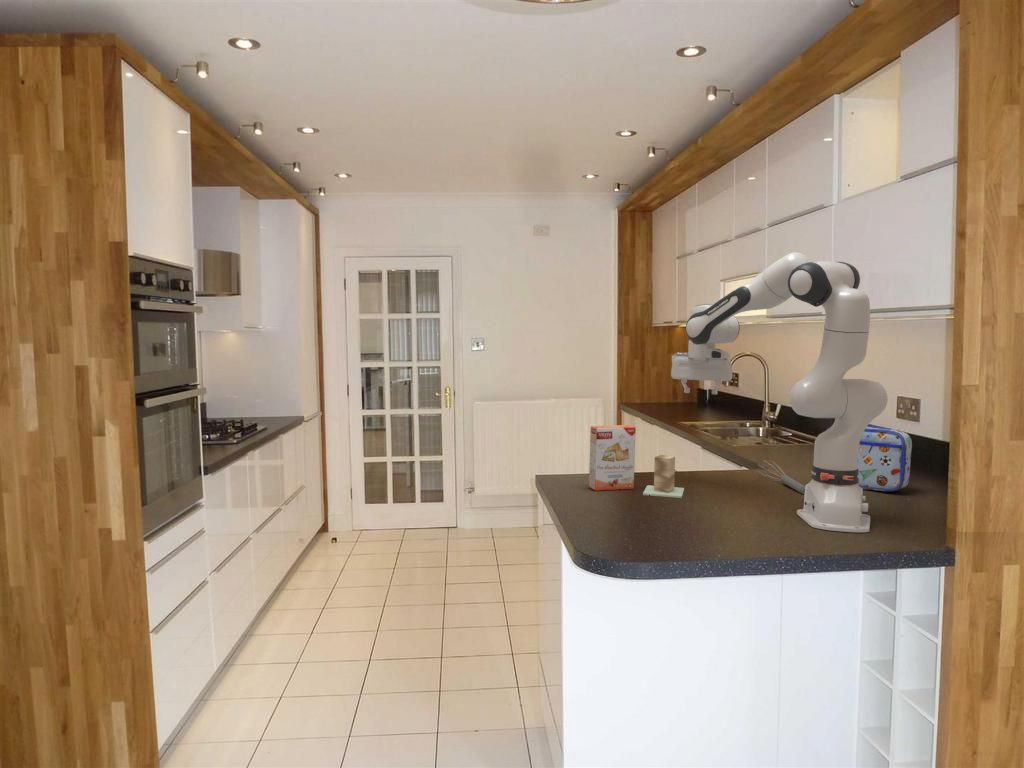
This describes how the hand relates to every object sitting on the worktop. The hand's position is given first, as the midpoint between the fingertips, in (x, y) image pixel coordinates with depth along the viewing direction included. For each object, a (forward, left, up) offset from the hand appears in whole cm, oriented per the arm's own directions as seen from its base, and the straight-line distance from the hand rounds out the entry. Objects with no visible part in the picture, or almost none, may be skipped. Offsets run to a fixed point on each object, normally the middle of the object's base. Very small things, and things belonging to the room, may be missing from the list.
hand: (700, 393), depth 231 cm
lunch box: (+13, -53, -31) cm, 63 cm away
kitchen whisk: (+9, -28, -32) cm, 43 cm away
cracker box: (-17, +27, -31) cm, 45 cm away
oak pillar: (-17, +10, -30) cm, 36 cm away
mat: (-17, +10, -31) cm, 37 cm away
